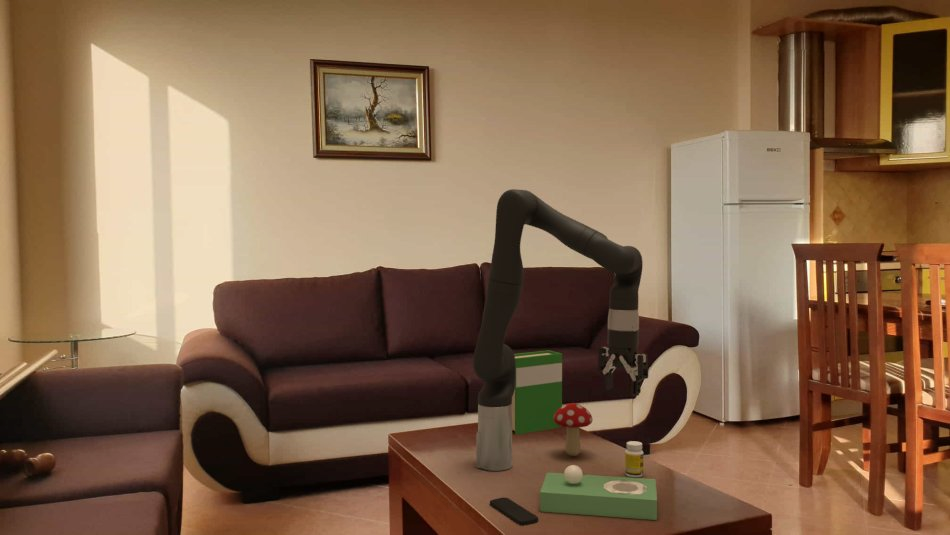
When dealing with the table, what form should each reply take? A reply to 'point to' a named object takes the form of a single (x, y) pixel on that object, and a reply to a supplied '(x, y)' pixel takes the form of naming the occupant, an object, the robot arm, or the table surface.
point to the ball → (573, 474)
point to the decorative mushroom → (573, 425)
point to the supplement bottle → (634, 459)
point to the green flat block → (600, 496)
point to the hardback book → (536, 391)
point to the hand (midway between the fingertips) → (621, 392)
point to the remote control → (514, 511)
